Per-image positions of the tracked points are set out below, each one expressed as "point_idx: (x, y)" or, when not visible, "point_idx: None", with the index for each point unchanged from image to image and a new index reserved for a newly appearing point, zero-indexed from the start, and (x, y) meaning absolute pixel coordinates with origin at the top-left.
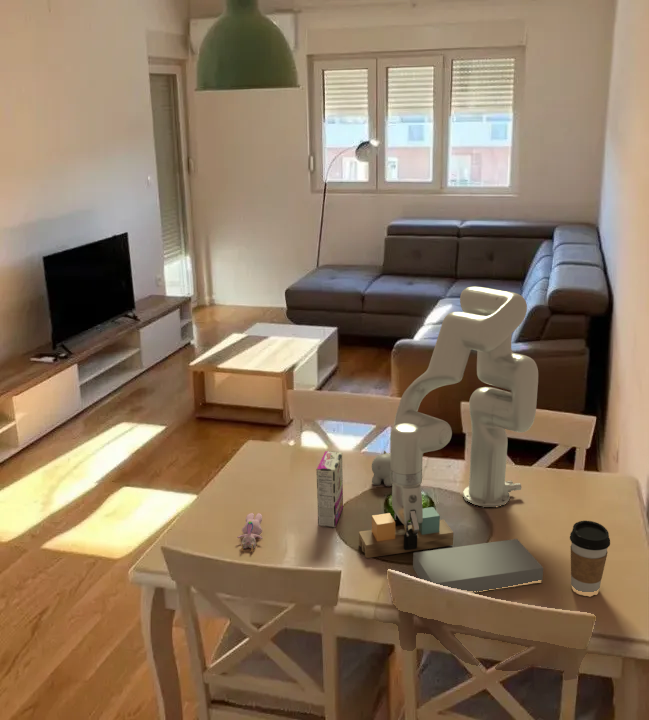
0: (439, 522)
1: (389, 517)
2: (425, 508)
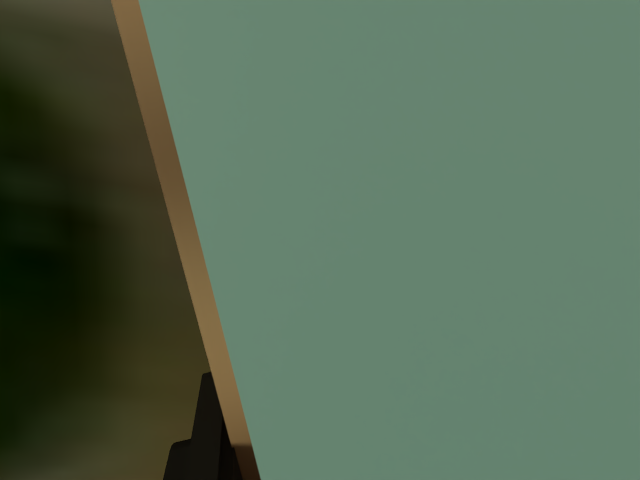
0: None
1: None
2: (279, 298)
